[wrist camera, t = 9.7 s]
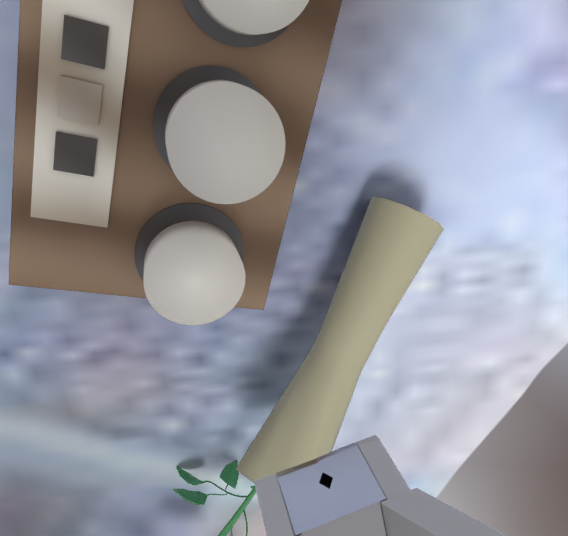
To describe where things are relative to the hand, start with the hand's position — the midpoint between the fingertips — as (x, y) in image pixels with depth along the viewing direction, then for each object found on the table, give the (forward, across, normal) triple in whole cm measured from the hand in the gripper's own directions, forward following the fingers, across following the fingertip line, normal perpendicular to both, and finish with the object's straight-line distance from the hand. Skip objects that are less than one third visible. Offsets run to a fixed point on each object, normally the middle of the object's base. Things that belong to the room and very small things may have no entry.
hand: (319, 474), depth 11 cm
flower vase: (+21, 0, +15) cm, 26 cm away
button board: (+21, 0, -6) cm, 21 cm away
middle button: (+15, -1, -5) cm, 16 cm away
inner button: (+16, +2, +1) cm, 16 cm away
